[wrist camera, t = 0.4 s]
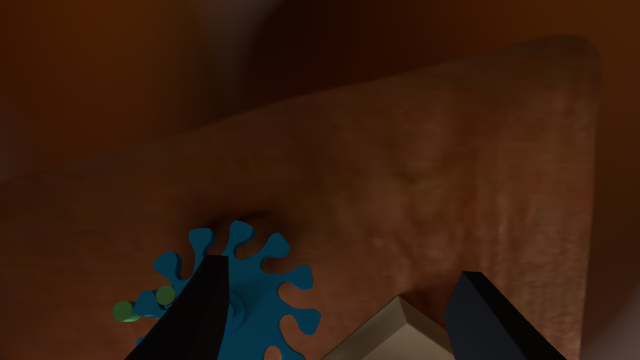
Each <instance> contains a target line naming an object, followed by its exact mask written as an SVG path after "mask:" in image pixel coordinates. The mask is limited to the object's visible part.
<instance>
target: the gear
mask: <svg viewBox="0 0 640 360" xmlns="http://www.w3.org/2000/svg"><path fill="white" fill-rule="evenodd" d="M254 235H255V230H254V229H253V228H252V227H251V226H250V225H248V224H247V223H244V222H241V221H237V220H235V221H234V222H233V223H232V224H231V227H230V238H229V242H228V245H227V247H226V249H225V251H224V252H223V254H222V255H221V256H229V292H230V303H229V309H228V315H227V321H226V327H225V333H224V337H223V341H222V344H221V348H220V352H219V355H218V359H217V360H264V354H265V351H266V349H267V348H268V347H269V346H275V347H277V348H279V349H280V351H281V353H282V360H306V359H305V357H304V356H303V355H302V354H301V353H298V352H296V351H295V350H293V349H292V348H291V347H290V346H289V345H288V344H287V342H286V341H285V339H284V337H283V335H282V333H281V330H280V327H279V323H280V320H281V318H282V317H283V316H285V315H288V314H290V315H292V316H294V317H295V319H296V321H297V323H298V326H299V328H300V330H301V331H302V332H303V333H304V334H307V335H313V334H314V332H315V331H316V329H317V327H318V324H319V321H320V317H321V314H320V313H319V312H318V311H317V310H315V309H297V308H294V307H291V306H290V305H288V304H287V303H285V302H284V301H283V300H281V299H280V297H279V295H278V289H279V287H280V286H281V285H282V284H283V283H286V282H289V283H292V284H293V285H295V286H296V287H297V288H299V289H300V290H309V289H311V288H312V286H313V278H312V273H311V269H310V266H308V265H300V266H298V267H297V268H296V269H294V270H292V271H291V272H288V273H285V274H267V273H264V271H263V269H262V264H263V262H264V260H265V259H267V258H269V257H275V258H283V257H285V256H287V255H288V254H289V253H290V251H291V250H290V247H289V245H288V243H287V242H286V240H285V239H284V238H283V237H282V236H281V235H280V234H279V233H275V234H273V235H271V236H270V237H269V239H268V241H267V243H266V245H265V246H264V247H263V249H262V250H261V251H260V252H258V253H257V254H255V255H254V256H252V257H249V258H247V259H245V260H238V258H237V256H236V251H237V249H238V248H239V247H240V246H241V245H244V244H246V243H248V242H250V241H251V240H252V239H253V238H254ZM215 240H216V236H215V233H214V232H213V231H212V230H211V229H209V228H200V229H196V230H192V231H191V232H190V234H189V241H190V243H191V244H192V246H193V248H194V251H195V267H194V271H193V274H194V273H195V271H196V270H197V268H198V266H199V265H200V263H201V262H202V260H203V258H204V257H205V256H207V252H208V251H209V250H210V248H211V247H212V246H213V245H214V243H215ZM153 265H154V269H155V270H156V271H157V272H158V273H160V274H162V275H164V276H165V277H166V278H167V279H168V280H169V281H170V282H171V284H172V285H173V286H169V285H165V286H162V287H161V288H159V289H155V290H152V291H143V292H142V293H141V295H140V296H139V298H138V299H137V301H136V302H133V301H121V302H119V303H117V304H116V305H115V307H114V309H113V317H114V318H115V319H116V320H117V321H136V320H138V319H139V318H140V317H141V316H146V317H148V318H150V319H158V320H160V318H161V317H162V316H163V315H164V313H165V312H166V311H167V310H168V308H169V307H170V306H171V304H172V303H173V302H174V300H175V299H176V298H177V297H178V295H179V294H180V293H181V291H182V290H183V288H184V287H185V286H186V284H187V283H188V281H189V280H190V279H191V277H192V276H193V274H192V276H191V277H190V278H189V279H188V280H182V278H181V276H180V271H181V267H182V259H181V257H180V256H179V255H178V254H176V253H174V252H172V251H169V252H167V253H165V254H163V255H162V256H161V257H159V258H158V259H157V260H156V261H155V262H154V263H153ZM144 337H145V336H144ZM144 337H141V338H139V339H138V340H137V343H136V346H137V345H138V344H139V343H140V342H141V341H142V340H143V338H144Z"/></svg>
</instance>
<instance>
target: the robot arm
mask: <svg viewBox="0 0 640 360" xmlns="http://www.w3.org/2000/svg"><path fill="white" fill-rule="evenodd" d="M229 303H230V292H229V256H220V255H207V256H205V257H204V258H203V260H202V262H201V263H200V265H199V266H198V268H197V270H196V271H195V273H194V274H193V276H192V277H191V279H190V280H189V281H188V283H187V284H186V286H185V287H184V288H183V290H182V291H181V293H180V294H179V295H178V297H177V298H176V299H175V300H174V302H173V303H172V304H171V306H170V307H169V308H168V310H167V311H166V312H165V313H164V315H163V316H162V317H161V318H160V320H159V321H158V322H157V323H156V324H155V325H154V327H153V328H152V329H151V330H150V331H149V333H148V334H147V335H146V336H145V337H144V338H143V340H142V341H141V342H140V343H139V344H138V345H137V346H136V347H135V348H134V350H133V351H132V352H131V353H130V354H129V355H128V356H127V357H126V358H125V359H124V360H217V359H218V355H219V352H220V348H221V344H222V341H223V337H224V333H225V327H226V321H227V315H228V309H229ZM444 318H445V323H446V328H447V333H448V337H449V341H450V346H451V349H452V352H453V355H454V358H455V360H567V359H566V358H565V357H564V356H563V355H562V354H561V353H559V352H558V351H557V350H556V349H555V348H554V347H553V346H552V345H551V344H550V343H549V342H548V341H547V340H546V339H545V338H544V337H543V336H542V335H541V334H540V333H539V332H538V331H537V330H536V329H535V328H534V327H533V326H532V325H531V324H530V323H529V322H528V321H527V320H526V319H525V318H524V317H523V316H522V315H521V313H520V312H519V311H518V310H517V309H516V308H515V307H514V306H513V305H512V304H511V303H510V302H509V301H508V300H507V299H506V298H505V296H504V295H503V294H502V293H501V292H500V291H499V290H498V289H497V288H496V287H495V286H494V285H493V284H492V283H491V282H490V280H489V279H488V278H487V277H486V276H485V275H484V274H483V273H482V272H471V271H462V273H461V275H460V278H459V280H458V282H457V284H456V287H455V289H454V291H453V293H452V296H451V298H450V300H449V303H448V305H447V307H446V309H445V312H444Z"/></svg>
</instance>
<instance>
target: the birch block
mask: <svg viewBox="0 0 640 360" xmlns="http://www.w3.org/2000/svg"><path fill="white" fill-rule="evenodd" d="M322 360H455V358H454V355H453V352H452V349H451V346H450V341H449V337H448V333H447V331H446V330H445V329H444V328H442V327H441V326H439V325H438V324H437V323H435V322H434V321H433V320H431V319H430V318H428V317H427V316H426V315H424V314H423V313H422V312H420V311H419V310H417V309H416V308H415V307H413V306H412V305H411V304H409V303H408V302H406V301H405V300H404V299H402V298H401V297H400V296H397V297H396V298H395V299H393V300H392V301H391V302H390V303H389V304H387V305H386V306H385V307H384V308H383V309H381V310H380V311H379V312H378V313H377V314H375V315H374V316H373V317H372V318H371V319H369V320H368V321H367V322H366V323H365V324H363V325H362V326H361V327H360V328H359V329H357V330H356V331H355V332H354V333H353V334H351V335H350V336H349V337H348V338H347V339H345V340H344V341H343V342H342V343H341V344H339V345H338V346H337V347H336V348H335V349H334V350H332V351H331V352H330V353H329V354H328V355H326V356H325V357H324V358H323V359H322Z"/></svg>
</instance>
